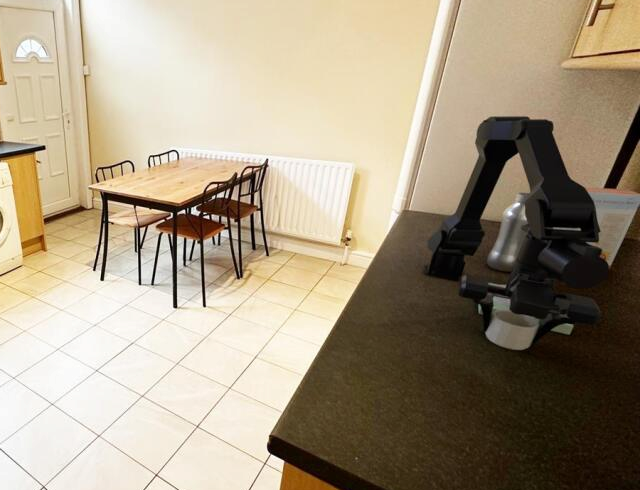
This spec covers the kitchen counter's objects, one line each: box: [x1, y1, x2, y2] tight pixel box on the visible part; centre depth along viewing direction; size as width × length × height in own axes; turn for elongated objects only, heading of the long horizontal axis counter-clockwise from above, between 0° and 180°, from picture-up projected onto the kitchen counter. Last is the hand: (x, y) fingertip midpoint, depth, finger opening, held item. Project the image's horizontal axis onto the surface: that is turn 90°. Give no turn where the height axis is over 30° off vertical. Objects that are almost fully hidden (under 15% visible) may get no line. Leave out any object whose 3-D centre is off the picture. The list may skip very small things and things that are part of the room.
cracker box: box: [554, 186, 640, 269], centre depth 103 cm, size 14×6×21 cm, turn 65°
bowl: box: [484, 310, 539, 351], centre depth 79 cm, size 7×7×5 cm
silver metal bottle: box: [486, 192, 530, 273], centre depth 104 cm, size 6×7×20 cm
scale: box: [477, 282, 574, 336], centre depth 89 cm, size 14×14×3 cm
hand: (507, 336), depth 79 cm, fingers closed on bowl, 6 cm apart
